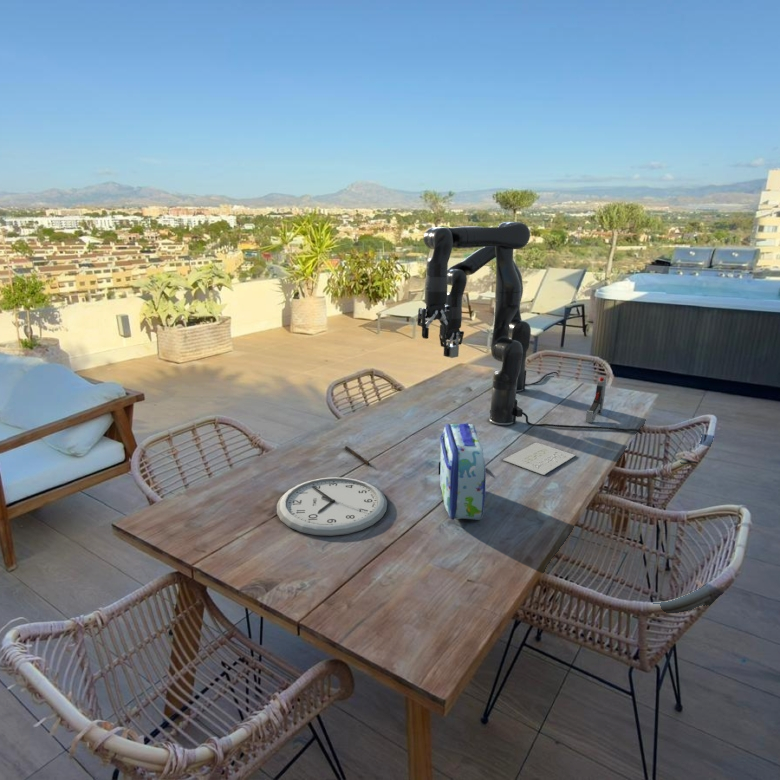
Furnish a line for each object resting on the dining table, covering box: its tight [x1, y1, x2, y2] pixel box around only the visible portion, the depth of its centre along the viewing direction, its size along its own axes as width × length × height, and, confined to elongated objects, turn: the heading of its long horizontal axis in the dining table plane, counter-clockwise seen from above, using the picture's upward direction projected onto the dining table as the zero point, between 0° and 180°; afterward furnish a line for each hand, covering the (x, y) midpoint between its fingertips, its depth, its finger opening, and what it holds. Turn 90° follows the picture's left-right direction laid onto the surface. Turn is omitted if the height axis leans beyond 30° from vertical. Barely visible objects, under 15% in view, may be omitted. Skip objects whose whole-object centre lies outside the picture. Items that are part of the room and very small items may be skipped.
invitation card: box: [502, 442, 577, 476], centre depth 174 cm, size 21×1×15 cm
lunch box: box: [438, 422, 486, 521], centre depth 142 cm, size 26×11×21 cm, turn 179°
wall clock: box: [276, 476, 388, 537], centre depth 142 cm, size 30×2×30 cm
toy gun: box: [585, 376, 607, 424], centre depth 210 cm, size 2×16×15 cm
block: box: [443, 343, 460, 359], centre depth 228 cm, size 5×4×5 cm
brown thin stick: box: [344, 445, 370, 465], centre depth 173 cm, size 15×1×1 cm, turn 34°
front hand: (434, 336), depth 180 cm, fingers open, 8 cm apart
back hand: (450, 355), depth 229 cm, fingers closed on block, 4 cm apart
